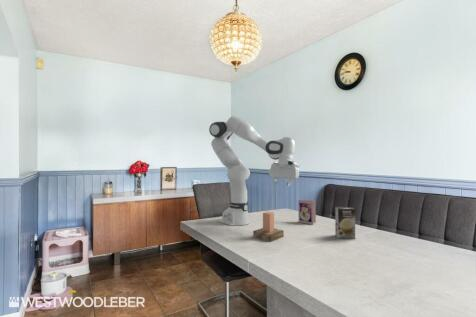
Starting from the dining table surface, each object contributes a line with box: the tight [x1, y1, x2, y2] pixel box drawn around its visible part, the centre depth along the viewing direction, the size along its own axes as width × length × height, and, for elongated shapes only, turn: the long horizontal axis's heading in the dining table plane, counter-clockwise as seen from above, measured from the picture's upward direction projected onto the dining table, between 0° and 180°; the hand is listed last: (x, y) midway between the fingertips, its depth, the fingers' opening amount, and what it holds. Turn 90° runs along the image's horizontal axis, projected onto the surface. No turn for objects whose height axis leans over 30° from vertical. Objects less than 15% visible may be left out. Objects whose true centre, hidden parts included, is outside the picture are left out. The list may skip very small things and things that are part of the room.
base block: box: [252, 227, 285, 242], centre depth 147 cm, size 12×12×4 cm
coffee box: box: [334, 206, 356, 239], centre depth 146 cm, size 9×6×16 cm
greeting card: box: [297, 199, 317, 225], centre depth 180 cm, size 11×7×15 cm, turn 43°
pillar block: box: [262, 211, 275, 232], centre depth 147 cm, size 4×4×10 cm
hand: (281, 184), depth 163 cm, fingers open, 8 cm apart
